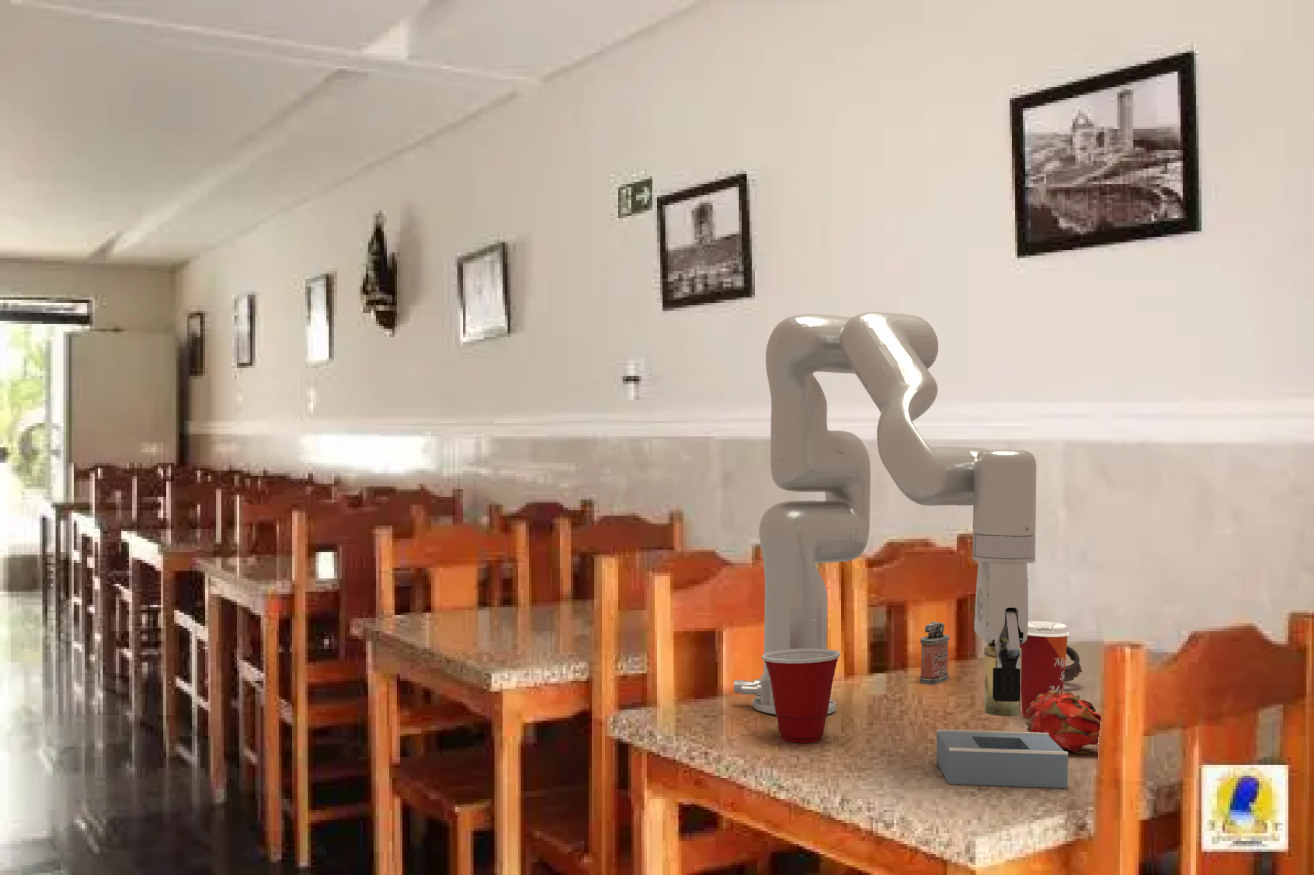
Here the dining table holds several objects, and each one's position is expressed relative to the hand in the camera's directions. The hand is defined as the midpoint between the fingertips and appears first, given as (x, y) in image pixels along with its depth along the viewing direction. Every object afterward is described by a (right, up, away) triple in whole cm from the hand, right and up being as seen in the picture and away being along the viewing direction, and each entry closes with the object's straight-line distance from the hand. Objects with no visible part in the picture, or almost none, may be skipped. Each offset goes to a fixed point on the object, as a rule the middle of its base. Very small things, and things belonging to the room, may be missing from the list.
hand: (1002, 695), depth 158 cm
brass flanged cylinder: (0, -2, 0) cm, 2 cm away
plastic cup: (-23, -10, +18) cm, 31 cm away
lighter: (+5, -10, +62) cm, 63 cm away
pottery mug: (+24, -11, +60) cm, 66 cm away
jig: (0, -10, 0) cm, 10 cm away
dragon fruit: (+13, -10, +14) cm, 22 cm away
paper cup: (+15, -10, +34) cm, 39 cm away
